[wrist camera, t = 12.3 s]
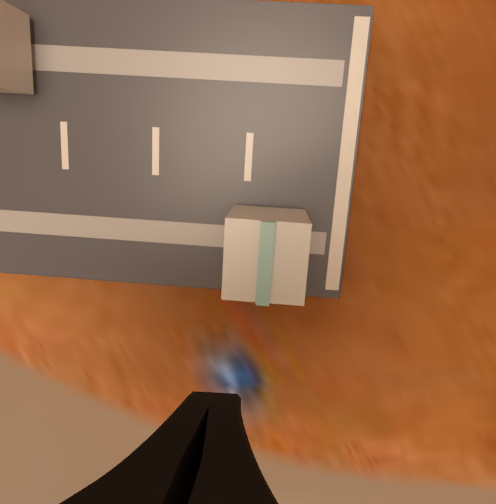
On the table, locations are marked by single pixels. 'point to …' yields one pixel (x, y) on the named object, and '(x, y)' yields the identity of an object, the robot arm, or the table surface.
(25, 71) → the fader
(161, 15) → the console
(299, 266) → the fader
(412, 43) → the table surface
